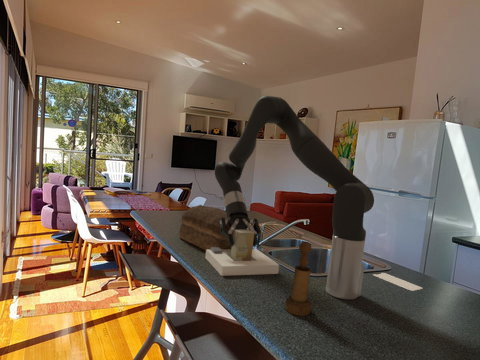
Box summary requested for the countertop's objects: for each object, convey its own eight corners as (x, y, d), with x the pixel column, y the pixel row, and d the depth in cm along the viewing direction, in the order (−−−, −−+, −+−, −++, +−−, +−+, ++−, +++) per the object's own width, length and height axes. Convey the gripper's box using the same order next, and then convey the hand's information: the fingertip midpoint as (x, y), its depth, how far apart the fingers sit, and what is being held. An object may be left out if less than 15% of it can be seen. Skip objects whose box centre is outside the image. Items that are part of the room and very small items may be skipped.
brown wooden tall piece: (310, 318, 90) (318, 247, 88) (284, 313, 91) (292, 243, 90) (310, 307, 96) (318, 241, 95) (286, 302, 97) (293, 237, 96)
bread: (203, 235, 164) (207, 200, 162) (249, 255, 139) (254, 214, 138) (175, 237, 154) (178, 200, 153) (219, 259, 130) (223, 216, 129)
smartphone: (425, 290, 121) (383, 273, 134) (425, 288, 121) (383, 272, 134) (412, 293, 117) (370, 275, 130) (412, 291, 117) (370, 274, 130)
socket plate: (255, 256, 137) (257, 246, 137) (278, 273, 121) (279, 262, 120) (205, 257, 130) (206, 246, 129) (221, 275, 113) (222, 263, 113)
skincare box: (234, 267, 122) (238, 232, 121) (229, 263, 126) (232, 229, 125) (251, 267, 125) (255, 232, 124) (245, 262, 129) (249, 229, 128)
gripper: (220, 199, 128) (227, 240, 118) (256, 201, 133) (267, 240, 123) (214, 211, 133) (221, 251, 123) (249, 212, 138) (258, 250, 129)
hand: (244, 245), depth 123 cm, fingers open, 8 cm apart
